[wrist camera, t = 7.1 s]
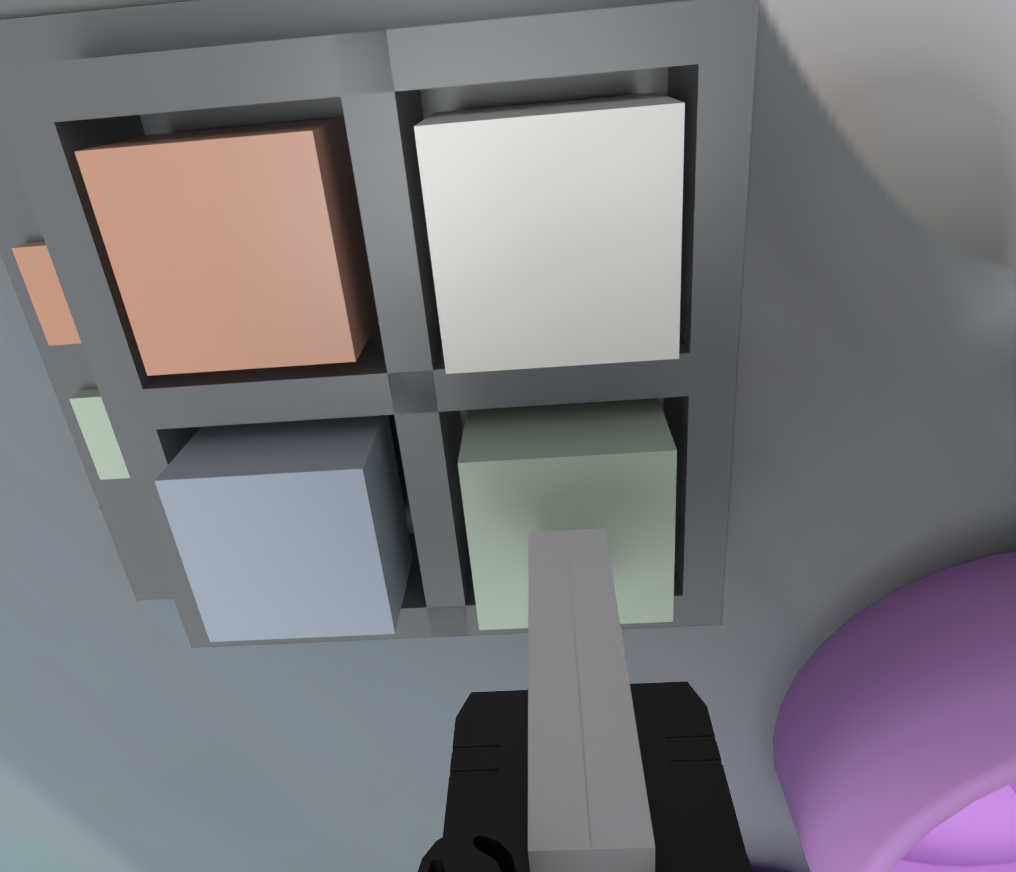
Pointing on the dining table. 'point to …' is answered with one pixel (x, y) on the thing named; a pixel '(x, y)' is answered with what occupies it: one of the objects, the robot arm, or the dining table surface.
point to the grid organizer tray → (369, 246)
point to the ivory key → (555, 231)
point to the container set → (909, 730)
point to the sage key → (570, 499)
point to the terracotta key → (236, 245)
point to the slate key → (291, 528)
